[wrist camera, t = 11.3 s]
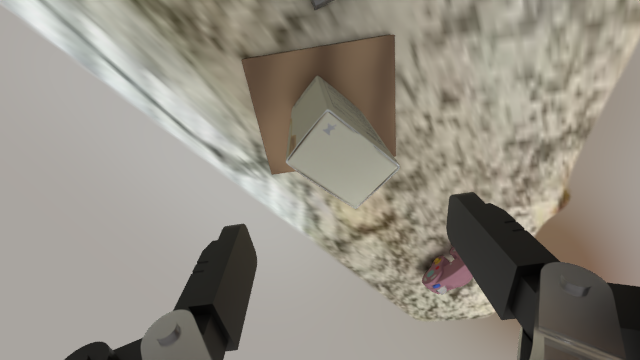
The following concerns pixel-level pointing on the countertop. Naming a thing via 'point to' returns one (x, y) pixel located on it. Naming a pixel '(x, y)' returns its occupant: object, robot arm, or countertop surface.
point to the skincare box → (337, 145)
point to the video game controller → (446, 274)
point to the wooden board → (337, 70)
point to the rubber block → (320, 3)
